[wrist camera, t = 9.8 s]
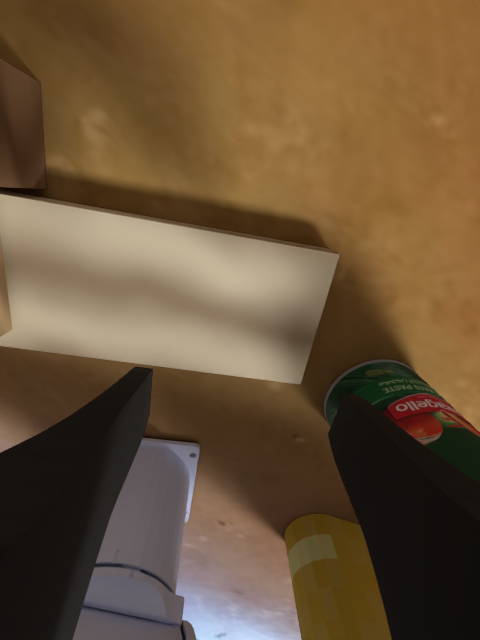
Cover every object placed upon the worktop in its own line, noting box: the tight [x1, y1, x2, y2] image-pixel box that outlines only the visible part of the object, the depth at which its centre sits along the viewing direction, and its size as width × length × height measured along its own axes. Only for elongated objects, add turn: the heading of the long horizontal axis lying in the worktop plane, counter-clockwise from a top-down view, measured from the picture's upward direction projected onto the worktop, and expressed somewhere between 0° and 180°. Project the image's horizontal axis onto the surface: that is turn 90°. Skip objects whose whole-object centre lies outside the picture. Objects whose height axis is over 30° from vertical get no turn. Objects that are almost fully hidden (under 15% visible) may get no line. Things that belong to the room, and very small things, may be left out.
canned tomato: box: [324, 359, 480, 483], centre depth 19 cm, size 8×8×11 cm
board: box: [0, 190, 340, 384], centre depth 18 cm, size 9×26×2 cm, turn 80°
